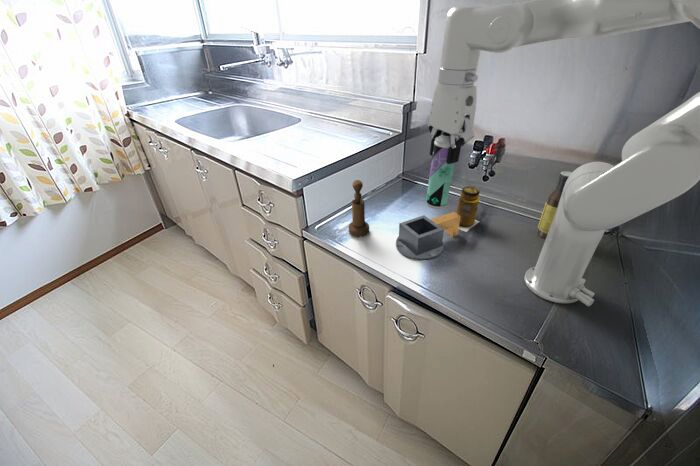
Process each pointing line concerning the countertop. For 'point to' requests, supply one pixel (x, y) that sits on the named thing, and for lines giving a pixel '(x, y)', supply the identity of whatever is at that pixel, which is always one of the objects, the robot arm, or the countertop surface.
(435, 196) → the spray can
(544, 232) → the sauce bottle
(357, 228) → the brown wooden tall piece
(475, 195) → the condiment
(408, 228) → the grey square saucepan
